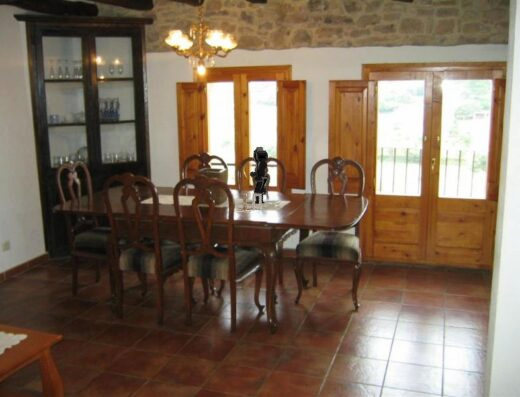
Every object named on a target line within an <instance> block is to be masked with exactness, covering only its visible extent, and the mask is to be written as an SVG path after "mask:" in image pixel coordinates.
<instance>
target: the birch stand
mask: <svg viewBox="0 0 520 397" xmlns="http://www.w3.org/2000/svg"><path fill="white" fill-rule="evenodd" d="M248 195H249V194H247V193H243V194H242V196H243V197H242V198H243V199H242V209H241V208H240V209H236V211H234V212H236V213H251V212H253V209H248V206H247V204H248Z"/></svg>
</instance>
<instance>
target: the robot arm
mask: <svg viewBox="0 0 520 397" xmlns="http://www.w3.org/2000/svg"><path fill="white" fill-rule="evenodd" d="M252 158H253V162H255V165H256V167H255V168H256V169H255V170H256V171H253V170H252V171H250V173H249V176H250V178H254V179H253V180H254V182H255V185H254V188H253V194H261V204H265V201H264V196H265V195H267V188H266V184H267V182H268V180H269V178H270V174H268V173H266V172H267V167H268V164H267V161H269V153H268V152H267V150H264V147H262V146H256V148H255V149H254V150H253V155H252ZM255 204H259V196H255Z"/></svg>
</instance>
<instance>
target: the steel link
mask: <svg viewBox="0 0 520 397" xmlns="http://www.w3.org/2000/svg"><path fill="white" fill-rule="evenodd" d="M256 196H259V203H258V210H262V203H261V194H254V193H252V210H256V203H255V201H256Z"/></svg>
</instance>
